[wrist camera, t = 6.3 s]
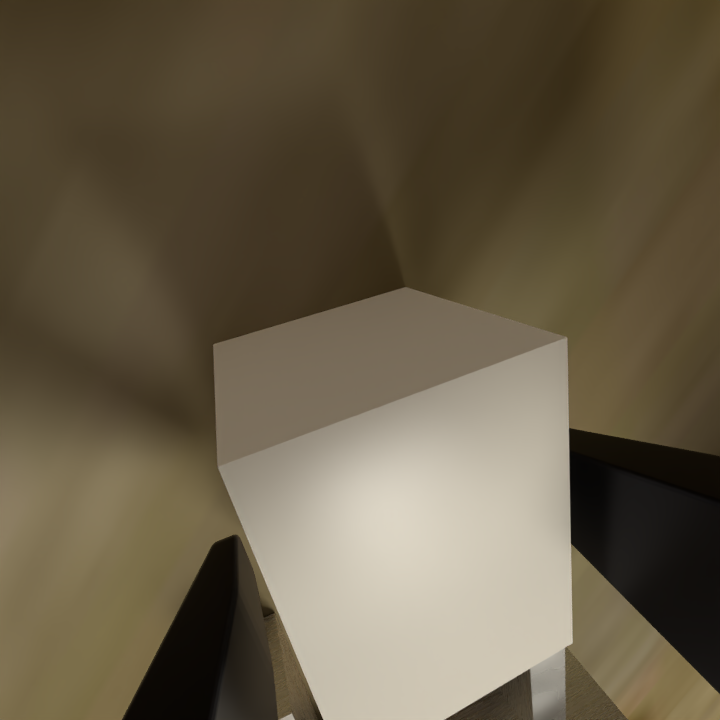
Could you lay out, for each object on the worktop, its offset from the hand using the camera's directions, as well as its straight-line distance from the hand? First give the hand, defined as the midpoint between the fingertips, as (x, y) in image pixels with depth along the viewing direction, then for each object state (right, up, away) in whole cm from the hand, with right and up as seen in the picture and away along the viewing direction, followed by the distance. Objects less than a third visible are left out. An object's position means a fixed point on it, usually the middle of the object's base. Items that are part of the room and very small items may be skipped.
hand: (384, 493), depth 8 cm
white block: (-1, +1, +3) cm, 3 cm away
